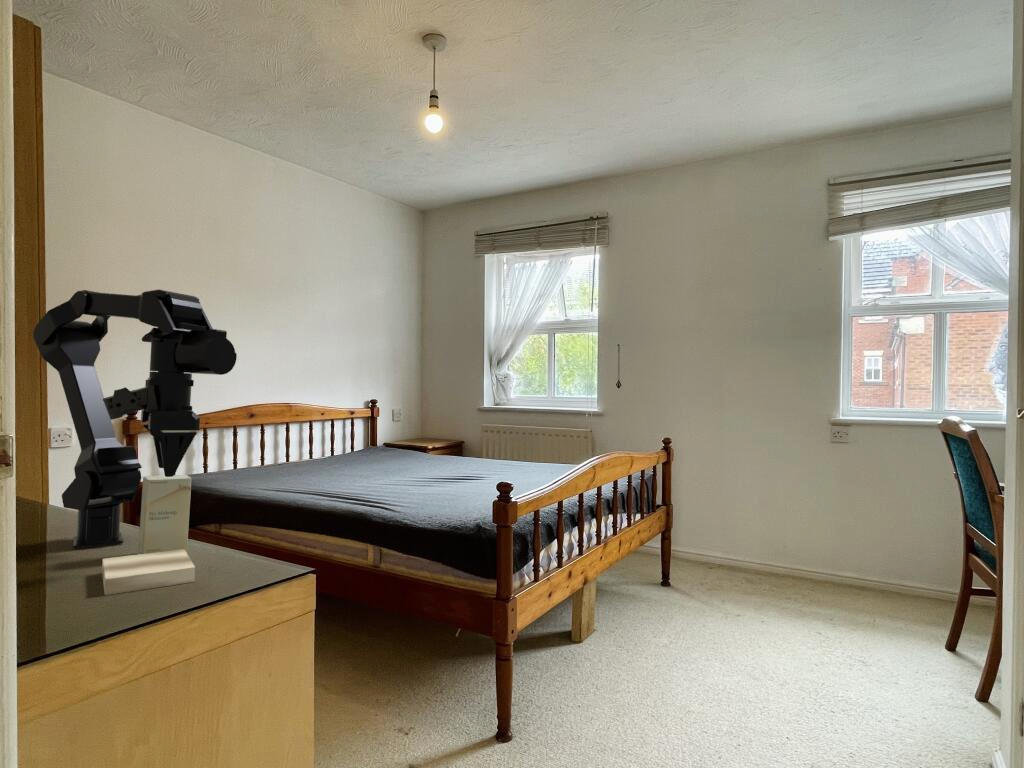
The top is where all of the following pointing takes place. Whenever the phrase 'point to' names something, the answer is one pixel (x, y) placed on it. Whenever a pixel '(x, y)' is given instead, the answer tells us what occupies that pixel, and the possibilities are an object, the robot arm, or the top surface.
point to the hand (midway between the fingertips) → (165, 472)
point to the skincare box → (164, 513)
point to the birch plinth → (146, 571)
